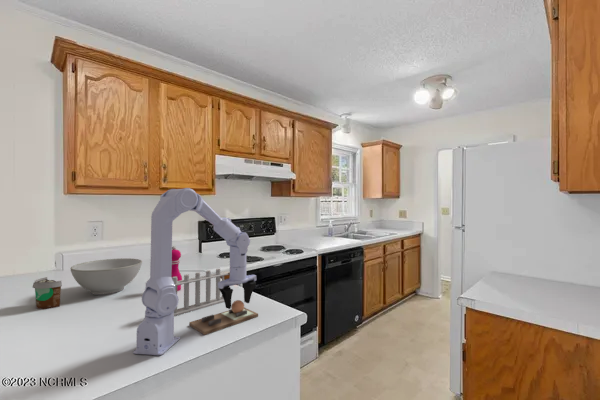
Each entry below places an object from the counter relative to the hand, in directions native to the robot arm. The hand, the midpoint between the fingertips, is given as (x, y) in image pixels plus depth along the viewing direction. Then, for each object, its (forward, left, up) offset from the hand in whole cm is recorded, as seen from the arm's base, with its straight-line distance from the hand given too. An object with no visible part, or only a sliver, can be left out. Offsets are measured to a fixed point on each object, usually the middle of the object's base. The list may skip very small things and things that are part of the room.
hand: (237, 305), depth 100 cm
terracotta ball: (0, 0, -1) cm, 1 cm away
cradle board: (-4, +3, -4) cm, 6 cm away
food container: (+1, +76, -4) cm, 76 cm away
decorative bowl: (+23, +68, -4) cm, 72 cm away
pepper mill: (+27, +39, -4) cm, 48 cm away
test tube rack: (+7, +18, -4) cm, 20 cm away
